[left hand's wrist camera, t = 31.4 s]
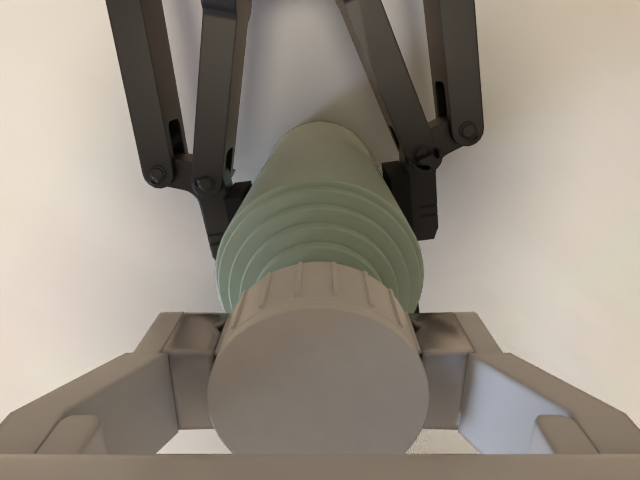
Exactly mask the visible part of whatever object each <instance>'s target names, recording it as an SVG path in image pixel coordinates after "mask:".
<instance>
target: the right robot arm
mask: <svg viewBox="0 0 640 480" xmlns="http://www.w3.org/2000/svg"><path fill="white" fill-rule="evenodd" d="M335 1H336V3H337V5H338V7H339V9H340V11H341V13H342V16H343V18H344V21H345V23H346V25H347V28H348V30H349V33H350V35H351V38H352V40H353V42H354V45H355V47H356V50H357V52H358V55H359V57H360V60H361V62H362V64H363V67H364V69H365V72H366V74H367V77H368V79H369V81H370V84H371V86H372V89H373V91H374V94H375V96H376V99H377V101H378V103H379V106H380V108H381V111H382V113H383V116H384V118H385V120H386V123H387V125H388V128H389V130H390V133H391V135H392V138H393V140H394V142H395V145H396V147H397V150H398V151H399V160H400V162H399V161H392V162H385V163H382V172H383V179H384V181H385V182H386V184H387V186H388V188H389V190H390V191H391V193H392V195H393V197H394V198H395V200H396V202H397V204H398V206H399V207H400V209H401V211H402V213H403V214H404V216H405V218H406V220H407V222H408V223H409V225H410V227H411V229H412V231H413V233H414V234H415V236H416V238H417V241H420V240H428V239H434V237H435V234H436V232H437V229H438V215H437V193H436V169H437V168H438V167H439V165H440V164H441V161H442V158H443V157H444V156H445V155H447V154H448V153H450V152H452V151H454V150H456V149H458V148H460V147H462V146H471V145H473V144H476V143H477V142H478V141H479V140H480V139H481V137H482V135H483V130H484V122H483V109H482V95H481V82H480V68H479V55H478V41H477V28H476V14H475V1H474V0H423V4H424V13H425V22H426V31H427V40H428V49H429V58H430V67H431V76H432V85H433V94H434V104H435V113H436V119H434V120H432V121H430V122H428V123H427V120H426V118H425V115H424V112H423V110H422V107H421V105H420V102H419V99H418V97H417V94H416V91H415V89H414V86H413V83H412V81H411V78H410V76H409V73H408V70H407V68H406V65H405V62H404V60H403V57H402V54H401V52H400V49H399V46H398V44H397V41H396V39H395V36H394V33H393V31H392V28H391V25H390V23H389V20H388V17H387V15H386V12H385V10H384V7H383V4H382V2H381V0H335ZM201 4H202V8H203V19H202V33H201V47H200V61H199V76H198V90H197V104H196V119H195V133H194V147H193V154H188V149H187V143H186V138H185V132H184V126H183V120H182V115H181V109H180V103H179V98H178V92H177V86H176V80H175V75H174V69H173V63H172V57H171V52H170V46H169V40H168V34H167V29H166V23H165V17H164V11H163V6H162V0H106V5H107V9H108V14H109V19H110V23H111V28H112V33H113V37H114V42H115V47H116V51H117V56H118V61H119V66H120V70H121V75H122V80H123V84H124V89H125V94H126V98H127V103H128V108H129V112H130V117H131V122H132V126H133V131H134V136H135V140H136V145H137V150H138V154H139V159H140V164H141V168H142V173H143V176H144V179H145V181H146V182H147V183H148V184H149V185H151V186H153V187H154V188H164V187H172V188H177V189H182V190H186V191H188V192H190V193H192V194H193V195H194V196H195V197H196V198H197V200H198V201H199V204H200V207H201V211H202V215H203V220H204V224H205V228H206V232H207V235H208V240H209V243H210V249H211V253H212V257H213V258H214V259H215V261H216V257H217V252H218V248H219V245H220V243H221V240H222V237H223V235H224V233H225V232H226V230H227V228H228V226H229V224H230V223H231V221H232V219H233V217H234V216H235V214H236V212H237V211H238V209H239V207H240V206H241V204H242V202H243V200H244V199H245V197H246V195H247V194H248V192H249V190H250V188H251V187H252V183H251V181H246V182H238V183H234V185H233V184H232V179H231V177H232V176H233V175H234V172H235V169H233V162H234V152H235V143H236V133H237V123H238V113H239V104H240V94H241V84H242V74H243V65H244V55H245V45H246V35H247V26H248V21H249V19H250V14H251V6H252V0H201ZM414 313H419V304H417V307H416V310H415V312H414Z"/></svg>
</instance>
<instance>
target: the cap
mask: <svg viewBox="0 0 640 480" xmlns="http://www.w3.org/2000/svg"><path fill="white" fill-rule="evenodd" d="M421 353H422V351H421V348H420V345H419V343H418V340H417V337H416V334H415V331H414V328H413V326H412V323H411V320H410V317H409V315H408V312H406V313H404V311H403V308H402V306H401V305H400V303H399V302H398V300H397V299H396V297H395V296H394V293H393V290H392V289H391V288H390V289H387V288H386V287H385V286H384V285H383V284H382V283H380V282H379V281H378V280H376V279H375V278H373V277H372V276H370V275H368V272H366V271H363V272H362V271H360V270H358V269H355V268H352V267H349V266H346V265H341V264H336V262H333V261H332V263H327V262H308V263H302V262H298V264H295V265H292V266H288V267H285V268H282V269H280V270H277V271H275V272H273V273H271V272H268V273H267V276H265V277H264V278H262V279H260V280H259V281H258V282H257V283H255V284H254V285H253V286H252V287H251V288H250V289H249V290H248V291H246V290H244V291H243V293H242V296H241V299H240V300H239V302H238V303H237V305H236V307H235V309H234V311H233V312H232V315H231V314H228V317H227V320H226V322H225V325H224V328H223V330H222V333H221V336H220V339H219V341H218V344H217V347H216V349H215V352H214V356H216V359H215V362H214V365H213V367H212V370H211V373H210V376H209V381H208V387H207V404H208V410H209V415H210V418H211V421H212V424H213V426H214V428H215V430H216V432H217V434H218V436H219V438H220V439H221V440H222V442H223V443H224V445H225V446H226V447H227V448H228V449H229V450H230V451H231V452H232V454H404V453H405V452H406V451H407V450H408V449H409V448H410V447H411V445H412V444H413V443H414V441H415V440H416V439H417V437H418V435H419V433H420V432H421V430H422V428H423V425H424V422H425V420H426V417H427V412H428V408H429V395H430V394H429V385H428V380H427V376H426V372H425V369H424V366H423V363H422V361H421V358H420V355H419V354H421Z"/></svg>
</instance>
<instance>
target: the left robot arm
mask: <svg viewBox="0 0 640 480" xmlns="http://www.w3.org/2000/svg"><path fill="white" fill-rule="evenodd" d="M228 314H230V313H198V312H186V313H184V312H163V313H160V314H159V315H158V316H157V318H156V319H155V321H154V322H153V324H152V325H151V327H150V328H149V330H148V331H147V333H146V334H145V336H144V337H143V339H142V340H141V342H140V343H139V345H138V346H137V348H136V349H135V351H134V352H133V353H125V354H123V355H121V356H119V357H117V358H115V359H113V360H111V361H109V362H107V363H106V364H104V365H102V366H100V367H98V368H96V369H94V370H92V371H90V372H88V373H86V374H84V375H82V376H80V377H79V378H77V379H75V380H73V381H71V382H69V383H67V384H65V385H63V386H61V387H59V388H57V389H55V390H54V391H52V392H50V393H48V394H46V395H44V396H42V397H40V398H38V399H36V400H34V401H32V402H30V403H28V404H27V405H25V406H23V407H21V408H19V409H17V410H15V411H13V412H11V413H10V414H9V415H8V416H7V417H6V418H5V419H4V420H3V421H2V423H1V424H0V480H640V429H639V428H638V427H637V426H636V425H635V424H634V423H633V421H632V420H631V419H630V418H629V417H628V416H627V415H626V414H625V413H623V412H622V411H620V410H618V409H616V408H614V407H612V406H610V405H608V404H606V403H604V402H602V401H601V400H599V399H597V398H595V397H593V396H591V395H589V394H587V393H585V392H583V391H582V390H580V389H578V388H576V387H574V386H572V385H570V384H568V383H566V382H564V381H563V380H561V379H559V378H557V377H555V376H553V375H551V374H549V373H547V372H545V371H543V370H542V369H540V368H538V367H536V366H534V365H532V364H530V363H528V362H526V361H524V360H523V359H521V358H519V357H517V356H515V355H513V354H511V353H503V352H502V351H501V349H500V348H499V346H498V345H497V343H496V342H495V340H494V339H493V337H492V336H491V334H490V333H489V331H488V330H487V328H486V327H485V325H484V324H483V322H482V321H481V319H480V317H479V316H478V314H477V313H475V312H454V313H453V312H445V313H408V315H409V317H410V320H411V323H412V326H413V328H414V331H415V334H416V337H417V340H418V343H419V345H420V348H421V351H422V353H421V354H419V355H420V358H421V361H422V363H423V366H424V369H425V372H426V376H427V380H428V385H429V394H430V395H429V408H428V412H427V417H426V420H425V422H424V425H423V428H422V429H451V430H458V432H459V433H460V434H461V435H462V436H463V437H464V438H465V439H466V440H467V441H468V442H469V443H470V444H471V445H472V446H473V447H474V448H475V449H476V450H477V451H478V452H480V453H481V454H156V453H157V452H158V451H159V450H160V449H161V448H162V447H163V446H164V445H165V444H166V443H167V442H168V441H169V440H170V439H172V438H173V437H174V436H175V435H176V434H177V433H178V430H185V429H215V428H214V426H213V424H212V421H211V418H210V415H209V410H208V404H207V387H208V381H209V376H210V373H211V370H212V367H213V365H214V362H215V359H216V356H214V352H215V349H216V347H217V344H218V341H219V339H220V336H221V333H222V330H223V328H224V325H225V322H226V320H227V317H228Z"/></svg>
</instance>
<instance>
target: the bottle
mask: <svg viewBox="0 0 640 480" xmlns="http://www.w3.org/2000/svg"><path fill="white" fill-rule="evenodd" d="M332 261H333V262H336V264H341V265H346V266H349V267H352V268H355V269H358V270H360V271H362V272H363V271H366V272H368V275H370V276H372V277H373V278H375V279H376V280H378V281H379V282H380V283H382V284H383V285H384V286H385V287H386V288H387V289H390V288H391V289H392V290H393V293H394V296H395V297H396V299H397V300H398V302H399V303H400V305H401V306H402V308H403V311H404V313H406V312H408V313H414V312H415V310H416V307H417V304H418V302H419V299H420V296H421V291H422V287H423V277H424V270H423V259H422V254H421V249H420V247H419V244H418V241H417V238H416V236H415V234H414V233H413V231H412V229H411V227H410V225H409V223H408V222H407V220H406V218H405V216H404V214H403V213H402V211H401V209H400V207H399V206H398V204H397V202H396V200H395V198H394V197H393V195H392V193H391V191H390V190H389V188H388V186H387V184H386V182H385V181H384V179H383V177H382V175H381V174H380V172H379V170H378V168H377V166H376V165H375V163H374V161H373V159H372V158H371V156H370V154H369V152H368V150H367V149H366V147H365V145H364V144H363V143H362V141H361V140H360V139H359V138H358V137H357V136H356V135H355V134H354V133H353V132H351V131H350V130H348V129H347V128H345V127H343V126H341V125H338V124H335V123H331V122H325V121H316V122H309V123H305V124H302V125H300V126H297V127H295V128H294V129H292V130H290V131H289V132H288V133H286V134H285V135H284V136H283V137H282V138H281V139H280V140H279V142H278V143H277V145H276V146H275V148H274V149H273V151H272V153H271V154H270V156H269V158H268V160H267V161H266V163H265V165H264V166H263V168H262V170H261V171H260V173H259V175H258V177H257V178H256V180H255V182H254V183H253V185H252V187H251V188H250V190H249V192H248V194H247V195H246V197H245V199H244V200H243V202H242V204H241V206H240V207H239V209H238V211H237V212H236V214H235V216H234V217H233V219H232V221H231V223H230V224H229V226H228V228H227V230H226V232H225V233H224V235H223V237H222V240H221V243H220V245H219V248H218V252H217V257H216V263H215V281H216V289H217V293H218V297H219V300H220V303H221V305H222V308H223V310H224V312H225V313H230V314H231V315H232V312H233V311H234V309H235V307H236V305H237V303H238V302H239V300H240V299H241V296H242V293H243V291H244V290H246V291H248V290H249V289H250V288H251V287H252V286H253V285H254V284H255V283H257V282H258V281H259V280H260V279H262V278H264V277H265V276H267V273H268V272H271V273H273V272H275V271H277V270H280V269H282V268H285V267H288V266H292V265H295V264H298V262H302V263H308V262H327V263H332Z"/></svg>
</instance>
